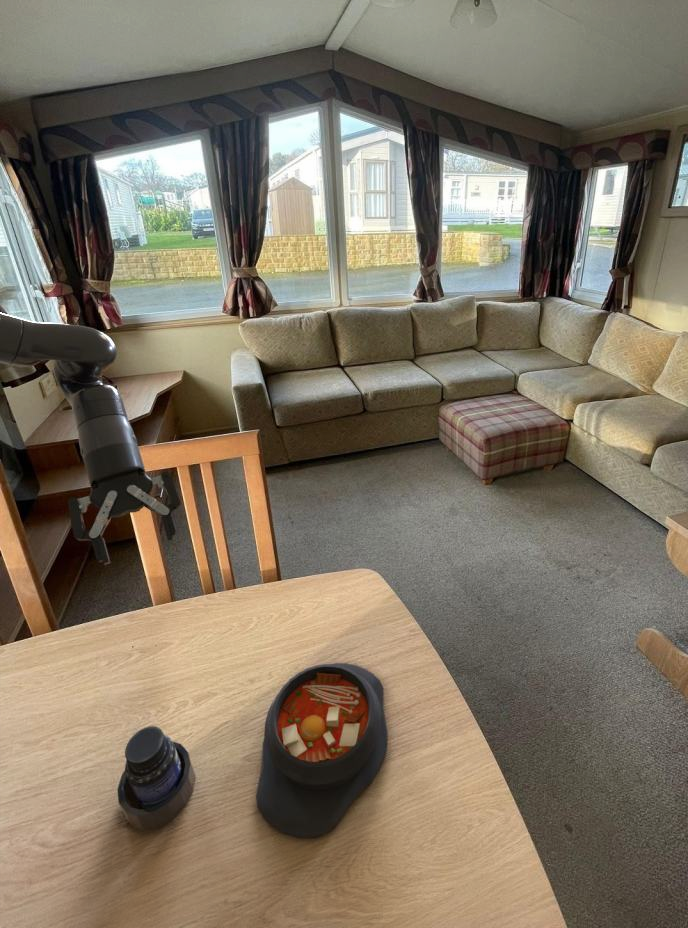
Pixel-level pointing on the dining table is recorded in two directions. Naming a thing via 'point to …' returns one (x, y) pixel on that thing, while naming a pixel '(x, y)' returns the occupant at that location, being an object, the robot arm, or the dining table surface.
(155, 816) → the ring
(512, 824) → the dining table surface
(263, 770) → the casserole
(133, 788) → the pill bottle
